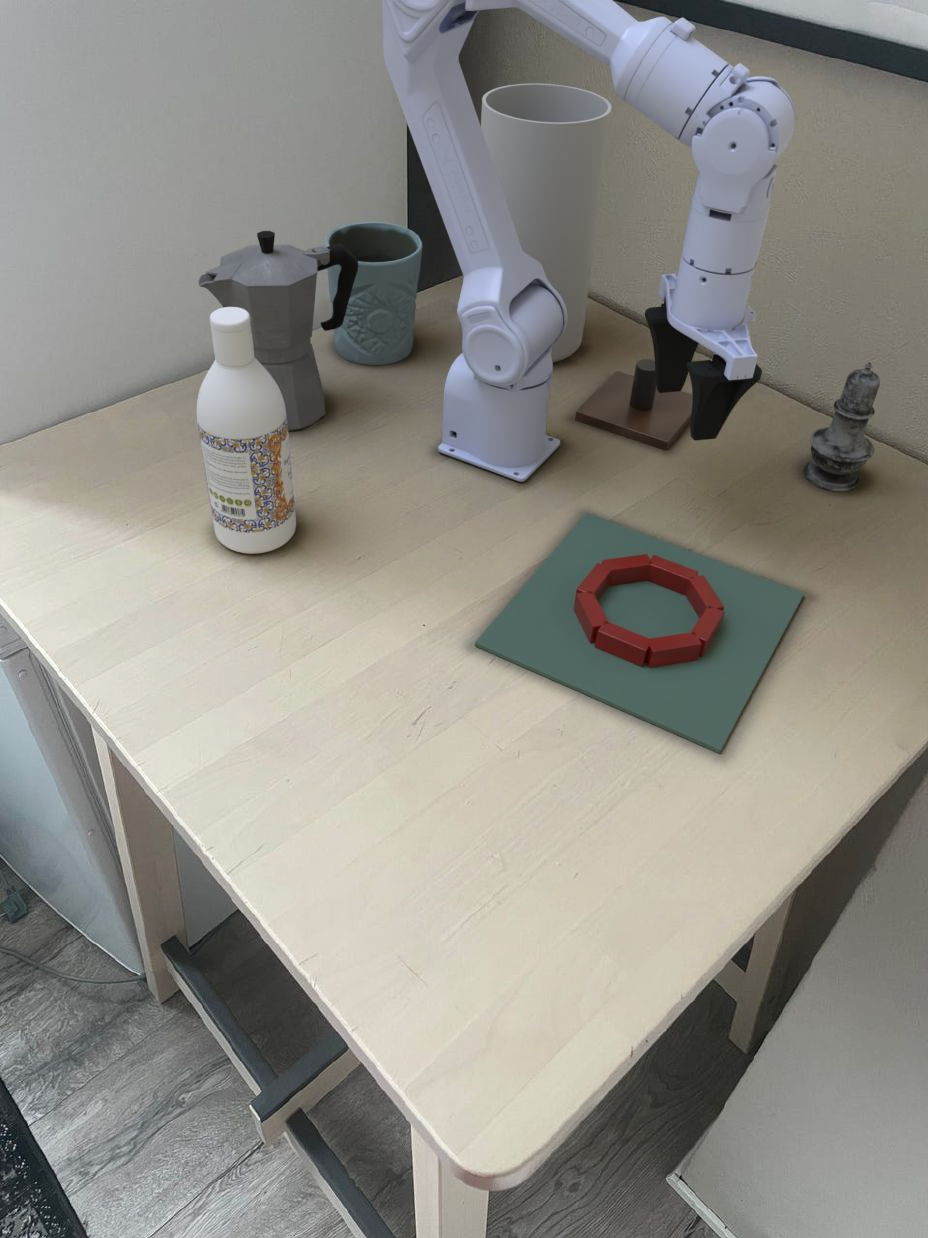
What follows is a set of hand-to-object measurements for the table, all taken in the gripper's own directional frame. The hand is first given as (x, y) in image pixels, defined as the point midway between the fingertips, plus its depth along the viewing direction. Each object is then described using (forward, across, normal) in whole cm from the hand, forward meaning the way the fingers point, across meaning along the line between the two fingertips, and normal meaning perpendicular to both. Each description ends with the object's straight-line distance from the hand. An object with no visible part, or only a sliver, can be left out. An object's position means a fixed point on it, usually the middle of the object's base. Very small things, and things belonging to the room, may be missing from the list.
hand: (685, 413), depth 88 cm
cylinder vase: (+10, +32, +4) cm, 34 cm away
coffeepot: (+10, +22, +32) cm, 40 cm away
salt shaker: (+10, +1, -18) cm, 20 cm away
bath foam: (+10, +3, +37) cm, 38 cm away
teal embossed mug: (+10, +33, +21) cm, 40 cm away
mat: (+9, -15, +8) cm, 19 cm away
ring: (+9, -15, +8) cm, 19 cm away
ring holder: (+9, +15, -3) cm, 18 cm away
